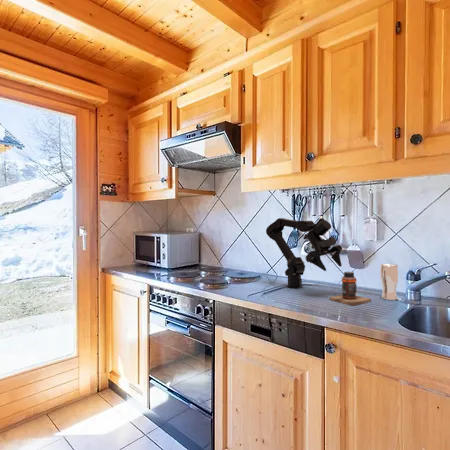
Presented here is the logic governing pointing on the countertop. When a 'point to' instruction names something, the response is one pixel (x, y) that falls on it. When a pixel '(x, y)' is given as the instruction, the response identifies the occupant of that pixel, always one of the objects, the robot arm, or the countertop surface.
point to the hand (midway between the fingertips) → (333, 268)
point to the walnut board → (350, 300)
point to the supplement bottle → (349, 286)
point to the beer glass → (389, 281)
